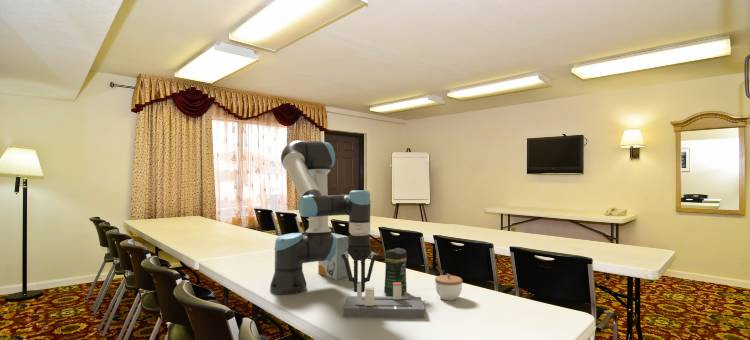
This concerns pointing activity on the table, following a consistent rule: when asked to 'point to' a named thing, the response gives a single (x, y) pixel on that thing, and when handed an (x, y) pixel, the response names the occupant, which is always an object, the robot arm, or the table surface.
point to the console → (385, 307)
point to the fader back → (396, 290)
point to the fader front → (369, 297)
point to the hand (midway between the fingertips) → (359, 301)
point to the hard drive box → (335, 260)
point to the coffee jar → (395, 270)
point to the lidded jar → (448, 286)
